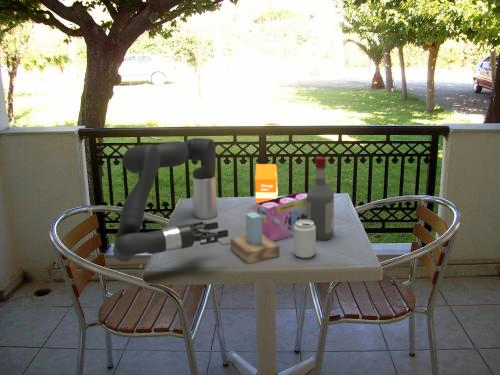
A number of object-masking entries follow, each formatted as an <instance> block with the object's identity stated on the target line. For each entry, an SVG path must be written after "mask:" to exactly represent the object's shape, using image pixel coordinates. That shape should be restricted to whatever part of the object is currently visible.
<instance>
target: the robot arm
mask: <svg viewBox="0 0 500 375" xmlns="http://www.w3.org/2000/svg"><path fill="white" fill-rule="evenodd" d="M216 149H217V148H216V144H215V141H214V140H213V139H212V138H199V137H198V138H197V137H196V138H195V137H194V138H193V137H192V138H190V139H187V140H185V141H181V140H180V141H178V140H175V141H168V142H163V143H159V144H156V145H154V144H143V145H136V146H131V147H130V148H128V149H127V150H126V151H124V154H123V157H122V162H123V167H124V168H125V169H126V170H127V171H128V172H129V173H132V174H136V175H137V174H140V176H139V178H138V180H137V182H136V184H135V185H134V187H132V189H131V191H130V192H129V193H128V195H127V196H126V198H125V200H124V202H123V203H122V207H121V214H120V218H119V224H118V229H117V233H116V237H115V240H114V244H113V248H112V253H113V257H115V258H116V260H118V261H119V262H121V263H123V262H129V261H131V260H132V259H134V258H135V255H141V254H146V253H147V254H149V255H156V254H160V253H164V252H165V253H166V252H174V251H178V250H183V249H188V248H191V247H193V246H194V243H195V242H200V243H199V244H200V246H203V245H208V244H213V243H219V241H218V238H223V237H227V236H228V230H222V231H217V232H212V231H214V230H218V229H219V223H218V221H214V222H209V223H207V222H204V221H198V222H194V223H193V222H192V223H188V224H187V223H186V224H181V225H175V226H171V227H166V228H163V229H159V230H154V231H153V230H152V231H149V232H140V230H141V228H142V225H143V221H144V215H145V209H146V205H147V202H148V200H149V199H148V198H149V195H150V194H151V193H150V192H151V191H152V189H153V186H154V183H155V181H156V177H157V174H158V171H159V169H160V168H161V169H162V168H174V167H177V166H181V165H183V164H185V163H186V162H187V161H199V162H203V165H202V166H200V167H197V168H195V169H193V170H192V183H193V193H192V207H193V208H192V210H193V216H194V217H196V219H199V220H207V219H213V218H215V217H217V216H218V205H217V204H218V200H217V187H216V184H217V183H216V166H217V165H216V164H217V163H216V157H217V156H216ZM211 234H212V235H211Z"/></svg>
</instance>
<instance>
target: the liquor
mask: <svg viewBox="0 0 500 375" xmlns="http://www.w3.org/2000/svg"><path fill="white" fill-rule="evenodd" d="M314 160H315V181H314V185H313V186H312V187H311V188H310V190H309V191H308V192H307V193H306V194H307V220H311V221H313V222H314V225H315V227H316V241H325V242H326V241H329V240H331V239H332V236H333V234H334V226H335V225H334V223H335V222H334V219H335V218H334V217H335V216H334V215H335V213H334V212H335V210H334V209H335V207H334V206H335V193H334V191H333V189H331V187H329V185H328V184H327V182H326V162H327V161H326V160H327V159H326V157H325V156H317V157H315V158H314Z"/></svg>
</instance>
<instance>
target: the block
mask: <svg viewBox="0 0 500 375" xmlns="http://www.w3.org/2000/svg"><path fill="white" fill-rule="evenodd" d="M245 228H246V233H247V241H248V242H249V243H251V244H252V245H258V244H262V220H261V216H260V215H259V214H257V213H256V212H255V211H254V212H248V213H245Z"/></svg>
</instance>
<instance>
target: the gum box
mask: <svg viewBox="0 0 500 375" xmlns="http://www.w3.org/2000/svg"><path fill="white" fill-rule="evenodd" d="M307 194H308V193H307V192H306V191H298V192H295V193H292V194H291V193H290V194H287V195H283V196H279V197H278V198H275V199H271V200H267V201H263V202H259V203H256V202H255V205H256V206H255V208H256V209H255V210H256V212H255V213H257V214H259V215H260V216H261V220H262V234H264V235H265V236H267V237H268V238H269V239H271V240H272V241H274V242H275V240H276V241H279V240H282V239H285V238H289V237H291V236H294V228H293V227H294V225H295V222H296V221H298V220H307Z"/></svg>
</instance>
